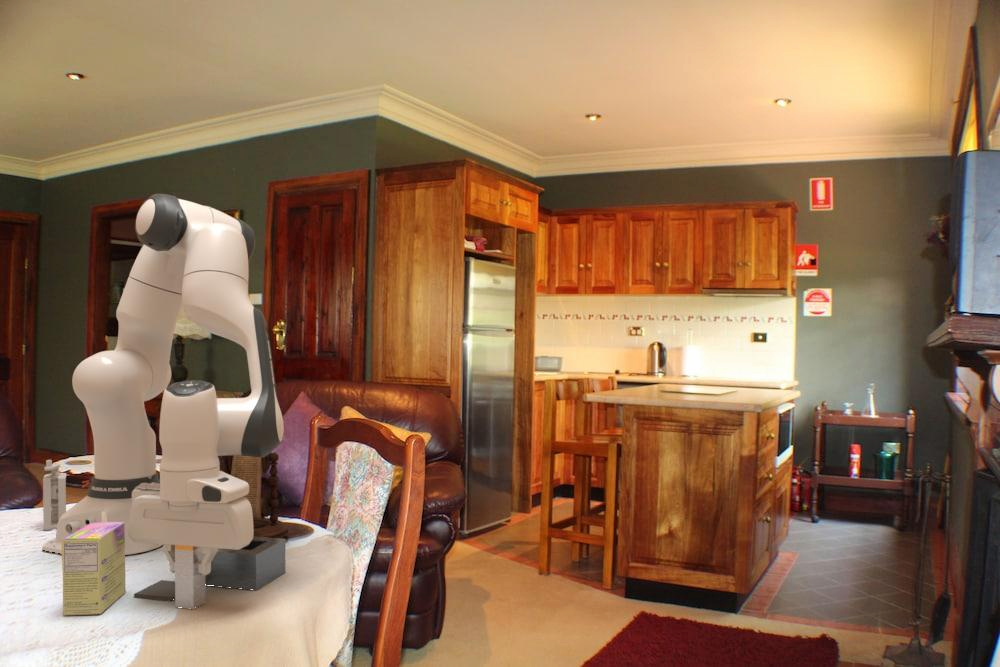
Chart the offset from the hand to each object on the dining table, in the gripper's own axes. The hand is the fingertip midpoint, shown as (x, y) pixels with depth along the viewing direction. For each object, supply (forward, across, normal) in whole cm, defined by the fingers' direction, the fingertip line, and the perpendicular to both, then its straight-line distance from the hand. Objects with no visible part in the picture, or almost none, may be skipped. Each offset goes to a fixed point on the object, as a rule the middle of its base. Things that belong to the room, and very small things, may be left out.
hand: (190, 572), depth 127 cm
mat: (+5, -8, +4) cm, 10 cm away
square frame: (+5, +2, +14) cm, 15 cm away
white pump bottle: (+5, -58, +36) cm, 69 cm away
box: (+5, -15, -3) cm, 16 cm away
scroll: (+5, -10, +35) cm, 37 cm away
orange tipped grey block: (+5, 0, 0) cm, 5 cm away
